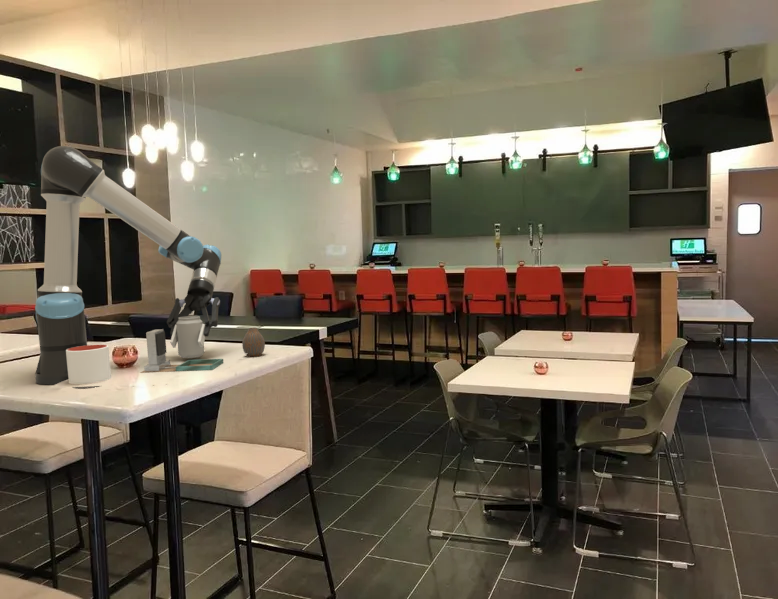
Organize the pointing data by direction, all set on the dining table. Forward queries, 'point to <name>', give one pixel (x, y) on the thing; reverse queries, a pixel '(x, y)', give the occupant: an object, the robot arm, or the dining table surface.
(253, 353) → the vase
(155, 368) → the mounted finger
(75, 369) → the cup
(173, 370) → the teal rectangular pan
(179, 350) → the can
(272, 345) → the dining table surface
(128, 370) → the dining table surface
